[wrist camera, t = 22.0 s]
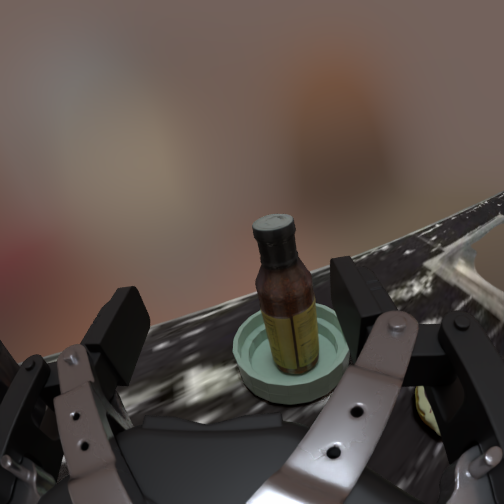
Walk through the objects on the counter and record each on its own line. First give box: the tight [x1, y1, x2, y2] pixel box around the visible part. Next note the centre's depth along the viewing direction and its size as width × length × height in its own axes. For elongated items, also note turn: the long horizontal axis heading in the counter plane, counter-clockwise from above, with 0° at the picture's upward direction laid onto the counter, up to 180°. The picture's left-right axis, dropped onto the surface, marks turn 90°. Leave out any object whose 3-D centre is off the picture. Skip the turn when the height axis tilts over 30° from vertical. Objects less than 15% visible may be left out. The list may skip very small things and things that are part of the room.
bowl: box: [233, 303, 350, 405], centre depth 35 cm, size 15×15×5 cm
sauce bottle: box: [252, 214, 319, 374], centre depth 31 cm, size 7×6×20 cm
